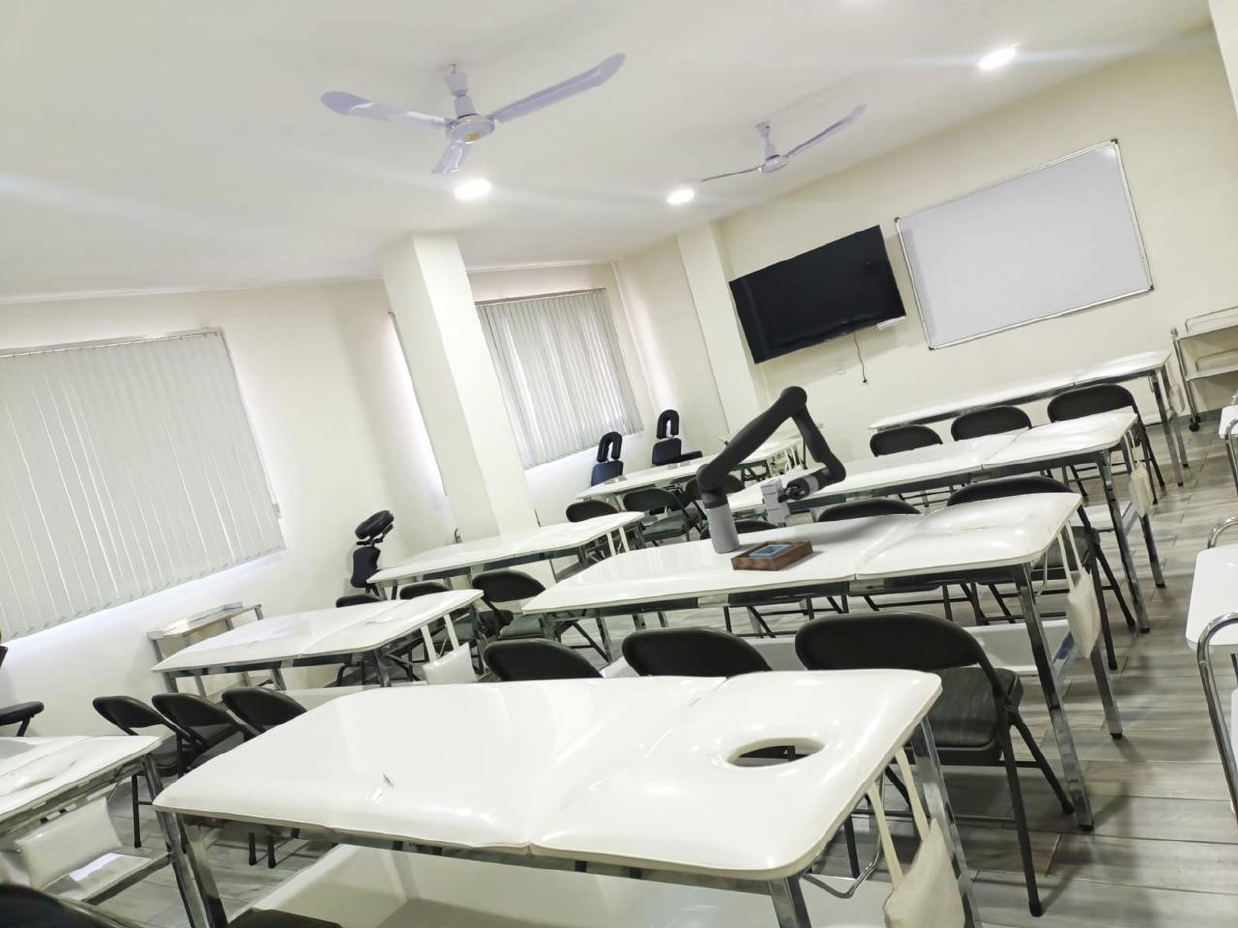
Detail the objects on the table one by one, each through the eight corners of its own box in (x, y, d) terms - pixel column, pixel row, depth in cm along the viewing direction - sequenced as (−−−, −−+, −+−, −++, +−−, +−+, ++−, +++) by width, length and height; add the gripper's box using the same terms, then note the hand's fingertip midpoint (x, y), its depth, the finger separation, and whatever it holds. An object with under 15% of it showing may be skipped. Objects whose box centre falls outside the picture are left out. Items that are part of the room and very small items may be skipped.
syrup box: (785, 522, 280) (774, 481, 278) (769, 524, 283) (759, 484, 282) (791, 517, 284) (781, 477, 283) (776, 519, 288) (766, 480, 286)
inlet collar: (751, 563, 271) (749, 554, 271) (771, 553, 277) (769, 544, 277) (772, 563, 263) (770, 554, 263) (793, 553, 269) (791, 544, 268)
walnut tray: (733, 569, 273) (730, 558, 273) (770, 552, 283) (767, 541, 283) (776, 571, 257) (772, 558, 257) (813, 552, 267) (810, 540, 267)
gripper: (785, 478, 296) (753, 491, 287) (815, 475, 285) (783, 489, 275) (790, 498, 297) (758, 512, 288) (820, 496, 285) (788, 510, 276)
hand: (770, 500), depth 282 cm, fingers closed on syrup box, 7 cm apart
